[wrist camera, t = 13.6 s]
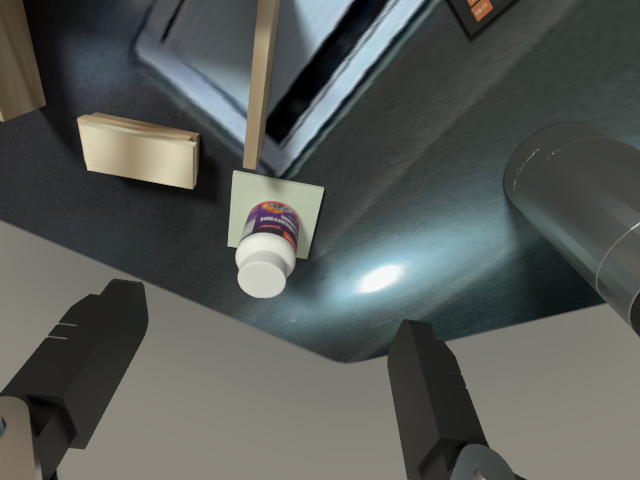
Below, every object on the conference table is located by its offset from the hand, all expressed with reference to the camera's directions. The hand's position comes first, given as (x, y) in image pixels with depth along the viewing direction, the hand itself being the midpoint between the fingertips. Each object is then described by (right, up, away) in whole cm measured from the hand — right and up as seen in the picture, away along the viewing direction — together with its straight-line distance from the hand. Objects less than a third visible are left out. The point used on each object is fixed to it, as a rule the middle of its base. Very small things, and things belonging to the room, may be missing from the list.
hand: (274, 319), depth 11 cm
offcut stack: (-15, +12, +22) cm, 29 cm away
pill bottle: (-3, +5, +26) cm, 27 cm away
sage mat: (-4, +5, +26) cm, 27 cm away
